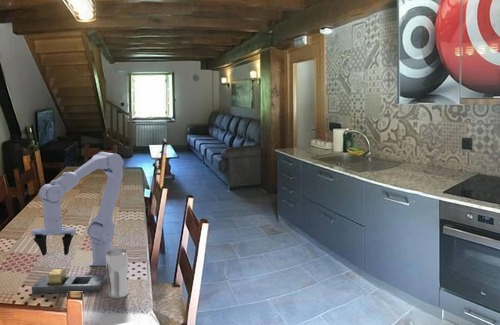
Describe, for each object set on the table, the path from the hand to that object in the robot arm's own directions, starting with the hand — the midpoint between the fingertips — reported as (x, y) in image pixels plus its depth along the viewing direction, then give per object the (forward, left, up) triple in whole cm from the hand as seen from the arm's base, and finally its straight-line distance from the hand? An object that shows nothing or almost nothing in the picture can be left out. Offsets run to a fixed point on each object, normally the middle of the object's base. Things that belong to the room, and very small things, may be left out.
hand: (55, 254), depth 144 cm
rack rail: (+7, +7, -9) cm, 14 cm away
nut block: (+7, +3, -10) cm, 12 cm away
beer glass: (+13, +25, -10) cm, 30 cm away
